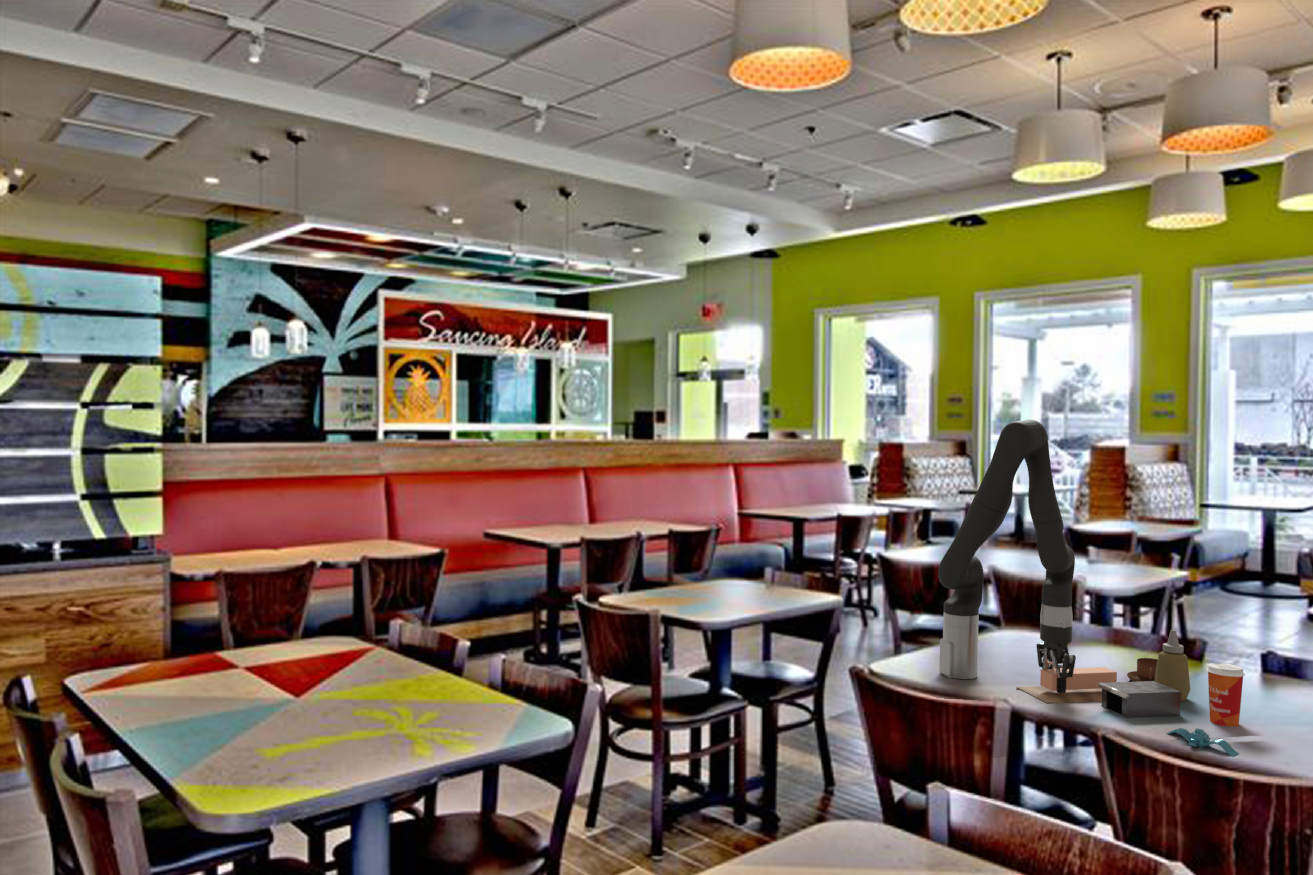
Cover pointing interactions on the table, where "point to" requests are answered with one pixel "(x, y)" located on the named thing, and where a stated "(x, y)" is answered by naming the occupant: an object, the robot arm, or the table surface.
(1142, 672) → the cup and saucer
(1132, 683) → the dispenser
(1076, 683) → the block
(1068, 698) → the board
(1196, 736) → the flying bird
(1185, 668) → the squeeze bottle
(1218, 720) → the paper cup
